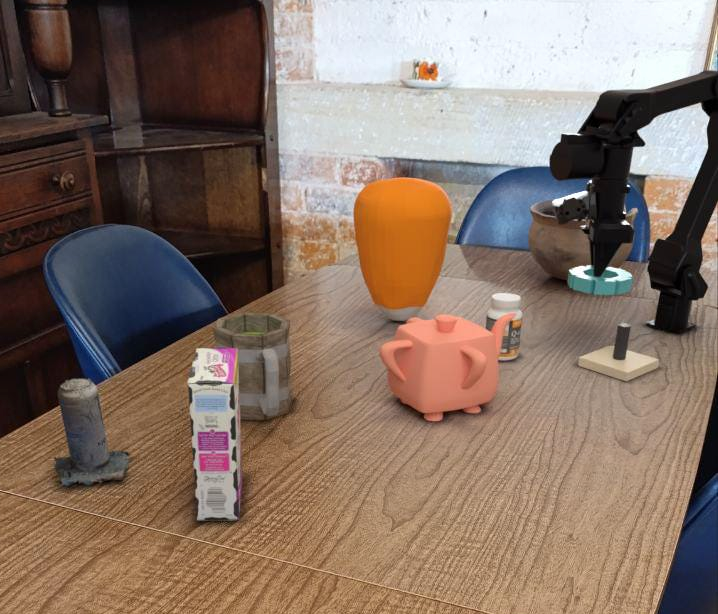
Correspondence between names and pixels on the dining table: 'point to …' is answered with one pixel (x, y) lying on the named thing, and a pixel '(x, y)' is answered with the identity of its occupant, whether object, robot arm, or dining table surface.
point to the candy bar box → (216, 433)
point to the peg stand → (619, 358)
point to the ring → (600, 281)
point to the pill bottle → (512, 333)
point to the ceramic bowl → (566, 242)
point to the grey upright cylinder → (86, 437)
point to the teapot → (444, 364)
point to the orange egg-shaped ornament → (401, 242)
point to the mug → (259, 361)
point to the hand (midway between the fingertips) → (596, 274)
